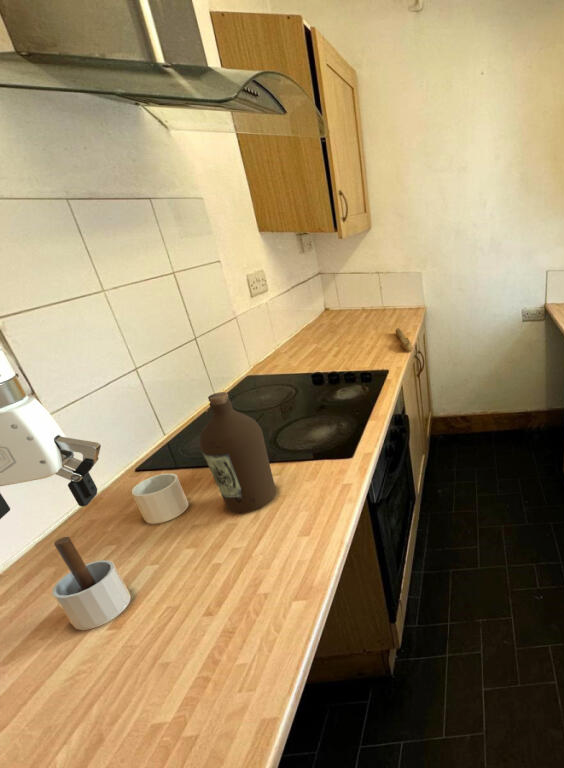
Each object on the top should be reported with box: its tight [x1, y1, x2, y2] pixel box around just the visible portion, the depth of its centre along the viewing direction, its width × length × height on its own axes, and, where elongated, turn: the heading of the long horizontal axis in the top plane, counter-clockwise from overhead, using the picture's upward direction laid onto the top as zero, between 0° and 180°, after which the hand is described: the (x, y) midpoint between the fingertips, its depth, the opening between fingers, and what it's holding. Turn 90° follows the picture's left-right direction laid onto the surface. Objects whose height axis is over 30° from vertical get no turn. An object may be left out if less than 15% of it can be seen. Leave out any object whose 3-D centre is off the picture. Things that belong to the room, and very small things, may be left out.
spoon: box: [53, 536, 96, 593], centre depth 63 cm, size 4×2×14 cm, turn 110°
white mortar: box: [51, 559, 132, 631], centre depth 64 cm, size 7×7×7 cm
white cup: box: [131, 472, 189, 525], centre depth 85 cm, size 7×7×7 cm
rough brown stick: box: [395, 327, 413, 353], centre depth 188 cm, size 3×3×30 cm
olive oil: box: [199, 391, 277, 514], centre depth 85 cm, size 11×11×25 cm
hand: (45, 508), depth 58 cm, fingers open, 9 cm apart
